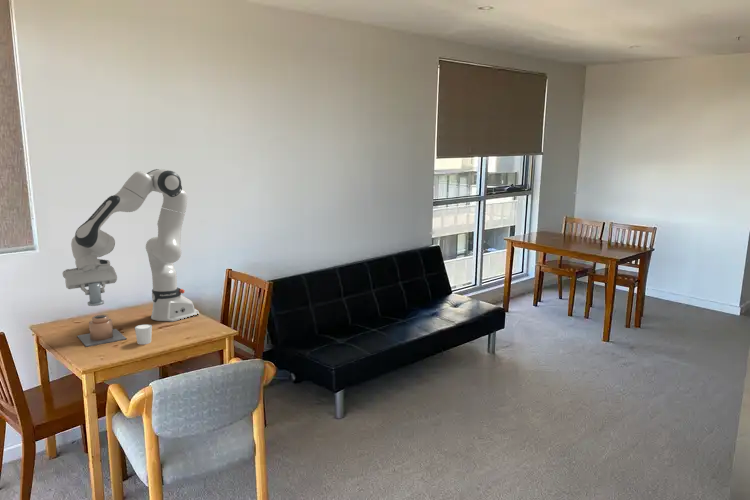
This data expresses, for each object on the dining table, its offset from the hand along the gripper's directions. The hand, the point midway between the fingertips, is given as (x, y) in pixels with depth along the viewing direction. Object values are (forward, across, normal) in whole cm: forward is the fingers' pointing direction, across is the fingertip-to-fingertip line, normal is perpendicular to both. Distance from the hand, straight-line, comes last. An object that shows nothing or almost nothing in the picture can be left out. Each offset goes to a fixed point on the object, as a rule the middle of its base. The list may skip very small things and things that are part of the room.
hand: (95, 293), depth 245 cm
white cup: (+27, +14, +2) cm, 30 cm away
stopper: (+3, 0, +4) cm, 5 cm away
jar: (+15, +1, +13) cm, 20 cm away
